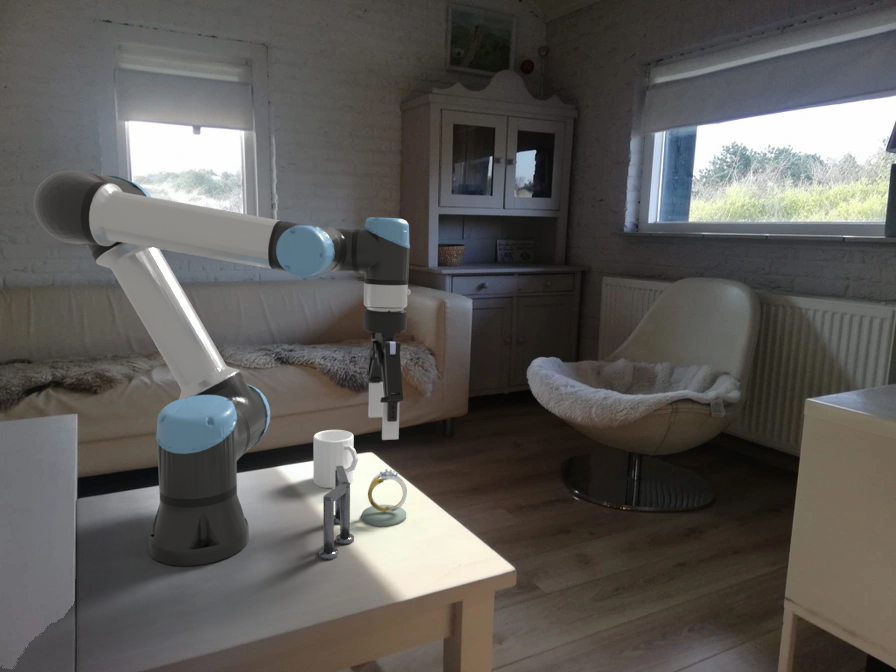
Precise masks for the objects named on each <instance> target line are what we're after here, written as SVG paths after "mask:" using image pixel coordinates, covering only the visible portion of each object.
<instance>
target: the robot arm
mask: <svg viewBox="0 0 896 672" xmlns="http://www.w3.org/2000/svg"><path fill="white" fill-rule="evenodd" d="M33 211H34V215H35V217H36V220H37V222H38V223H39V225H40V226H41V227H42V229H44V231H45V232H47V233H48V234H49V235H50V236H51V237H53V238H55V239H57V240H58V241H60V242H64V243H67V244H73V245H85V246H86V248H87V250H88V251H89V253H90V254H91V256H92V258H93V259H94V261H95V263H96V264H97V265H98V266H101V267H105V268H108V269H110V271H112V273H113V275H114V277H115V278H116V280H117V281H118V283H119V285H120V287H121V288H122V290H123V292H124V294H125V296H126V297H127V299H128V301H129V302H130V304H131V305H132V307H133V309H134V311H135V313H136V314H137V315H138V318H139V319H140V320H141V323H142V324H143V326H144V328H145V330H146V332H147V333H148V335H149V336H150V338H151V340H152V341H153V343H154V345H155V346H156V348H157V350H158V351H159V353H160V355H161V357H162V358H163V360H164V362H165V364H166V365H167V367H168V369H169V370H170V372H171V374H172V375H173V377H174V379H175V381H176V382H177V384H178V385H179V388H180V396H179V397H178V399H177V400H174V401H172V402H169V403H168V404H167V405H165V406H164V407H163V408H162V409H161V410H160V412H159V413H158V415H157V425H156V427H157V428H156V431H155V438H156V442H157V443H156V444H157V445H156V447H157V463H158V484H159V485H158V488H159V504H158V508H157V511H156V514H155V517H154V521H153V523H152V524H153V526H152V529H151V531H150V534H149V538H148V541H149V543H148V545H149V548H148V549H149V554H150V556H151V557H152V558H153V559H154V560H155V561H157V562H160V563H163V564H166V565H171V566H180V567H181V566H182V567H183V566H184V567H185V566H186V567H188V566H189V567H191V566H201V565H206V564H212V563H216V562H220V561H221V560H225V559H227V558H229V557H232V556H233V555H236V554H237V553H239V552H241V551H242V550H243V549H244V548H245V547H246V546H247V545H248V543H249V540H250V530H249V529H250V528H249V527H250V525H249V522H248V520H247V518H246V517H245V513H244V512H243V511H244V510H243V508H242V505H241V502H240V499H239V496H238V483H237V482H238V478H237V477H238V475H237V474H238V473H237V470H238V468H237V465H238V464H237V462H238V460H240V458H242V456H243V455H245V454H246V452H248V451H249V450H250V449H252V448H254V447H256V445H257V444H258V443H259V442H260V441H261V439H262V438H263V437H264V435H265V434H266V432H267V430H268V427H269V424H270V421H271V409H270V405H269V402H268V400H267V397H266V396H265V395H264V393H262V391H261V390H259V389H258V388H257V387H255V386H253V385H251V384H248V383H247V381H246V380H245V378H244V376H243V374H242V373H241V371H240V370H239V369H237V368H233V367H230V366H228V365H227V364H226V363H225V360H224V359H223V357H222V355H221V354H220V353H219V350H218V348H217V347H216V345H215V343H214V341H213V340H212V338H211V336H210V335H209V333H208V331H207V329H206V328H205V326H204V324H203V322H202V321H201V319H200V317H199V316H198V313H197V312H196V310H195V308H194V306H193V305H192V303H191V301H190V300H189V298H188V296H187V294H186V293H185V291H184V289H183V287H182V286H181V284H180V283H179V280H178V279H177V276H175V274H174V272H173V270H172V268H171V266H170V265H169V263H168V261H167V260H166V258H165V256H164V254H163V253H162V251H161V250H164V251H169V252H174V253H180V254H181V253H182V254H186V255H191V256H198V257H203V258H209V259H215V260H220V261H225V262H230V263H231V262H232V263H236V264H237V263H238V264H242V265H249V266H255V267H261V268H264V269H271V270H275V271H276V270H277V271H281V272H287V273H289V274H291V275H292V276H294V277H295V276H296V277H299V278H307V279H308V278H314V277H317V276H319V275H322V274H327V273H328V274H329V273H356V274H360V273H361V274H363V273H364V278H363V279H364V282H363V305H364V306H365V307H366V308H365V309H364V311H363V330H364V331H366V332H368V333H370V335H371V336H370V346H369V347H370V348H369V354H368V356H369V357H368V361H367V362H368V364H367V371H366V375H367V377H368V411H367V412H368V414H367V417H368V418H371V419H372V418H381V419H382V420H381V421H382V422H381V440H382V441H387V440H399V435H400V431H399V430H400V406H401V405H400V402H402V401H404V392H403V377H402V364H401V362H402V361H401V341H396V334H401V333H404V332H406V331H407V329H408V312H407V310H406V309H404V308H406V307H408V296H410V295H411V293H412V291H411V289H409V288H408V287H409V286H408V285H409V271H410V270H409V269H410V266H409V265H410V251H411V250H410V248H411V245H410V224H409V223H408V221H407V220H405V219H403V218H399V217H398V218H395V217H393V218H392V217H367V218H366V220H365V224H364V227H363V228H362V227H361V228H345V227H329V226H327V227H326V226H316V225H309V224H304V223H297V222H292V221H286V220H285V221H284V220H279V219H275V218H268V217H265V216H264V217H263V216H257V215H253V214H246V213H242V212H236V211H235V212H234V211H230V210H223V209H219V208H212V207H207V206H201V205H196V204H191V203H186V202H185V203H184V202H181V201H173V200H168V199H162V198H157V197H152V196H151V195H150V193H148V191H147V190H146V189H145V188H143V186H141V185H139V184H138V183H136V182H133V181H132V180H129V179H127V178H124V177H121V176H118V175H117V176H116V175H103V174H98V173H91V172H87V171H82V170H74V169H73V170H61V171H57V172H55V173H53V174H50V175H49V176H48V177H47V178H44V180H42V182H41V183H39V185H38V187H37V188H36V190H35V193H34V197H33Z"/></svg>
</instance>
